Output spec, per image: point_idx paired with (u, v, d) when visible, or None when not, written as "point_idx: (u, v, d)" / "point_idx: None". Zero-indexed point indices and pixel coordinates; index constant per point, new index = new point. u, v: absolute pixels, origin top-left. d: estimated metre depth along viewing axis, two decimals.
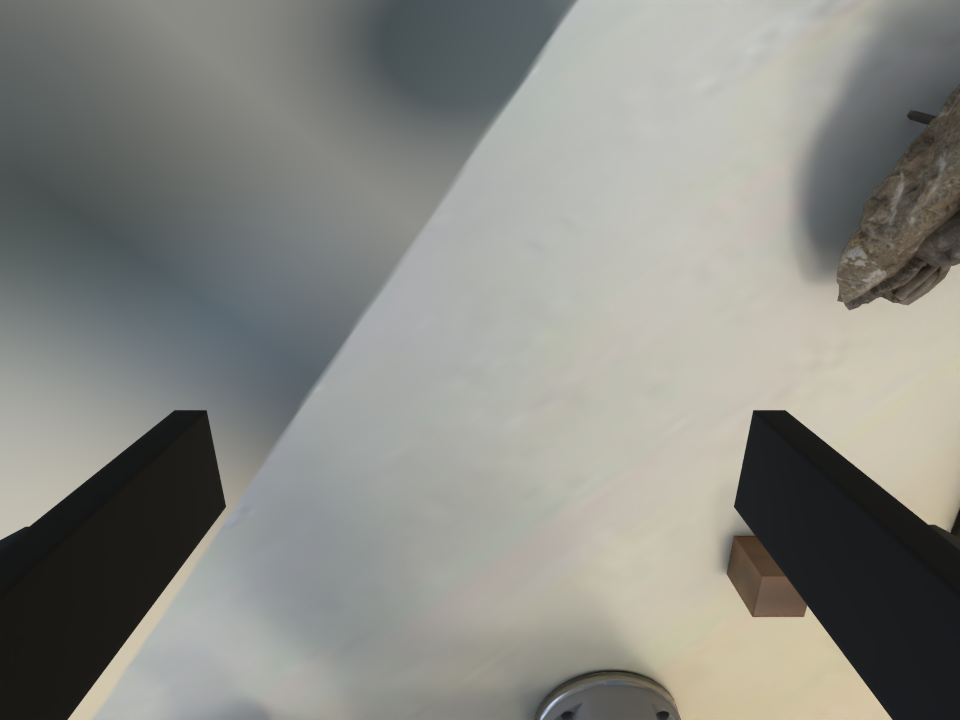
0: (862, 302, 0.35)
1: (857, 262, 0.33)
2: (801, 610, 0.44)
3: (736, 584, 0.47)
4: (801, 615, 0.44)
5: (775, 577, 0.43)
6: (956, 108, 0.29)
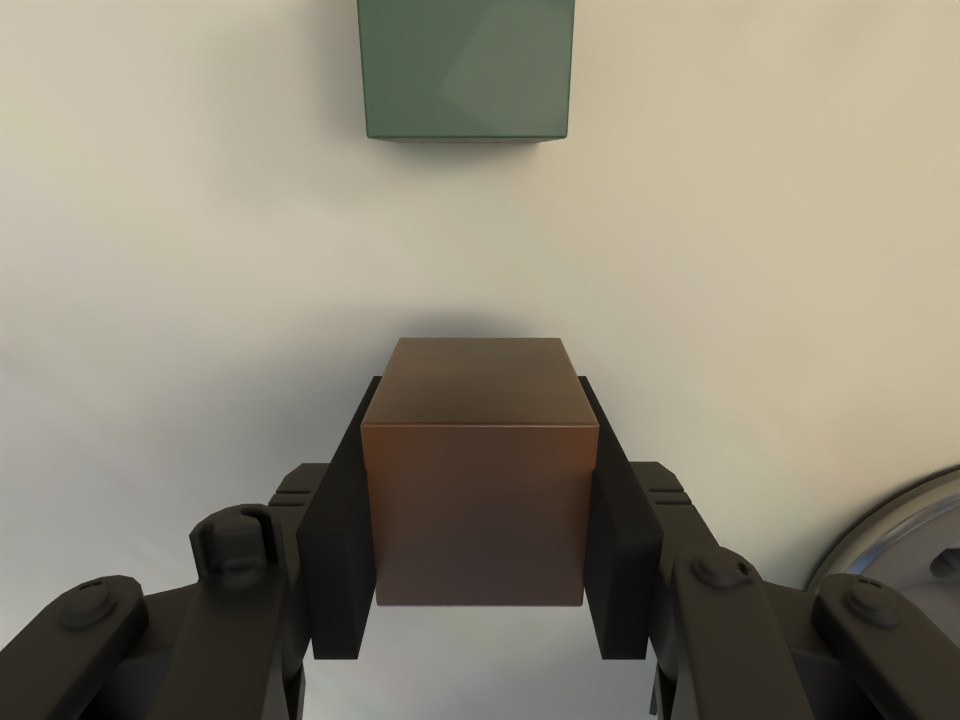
0: None
1: None
2: (558, 444, 0.10)
3: None
4: (588, 437, 0.10)
5: (381, 565, 0.11)
6: None
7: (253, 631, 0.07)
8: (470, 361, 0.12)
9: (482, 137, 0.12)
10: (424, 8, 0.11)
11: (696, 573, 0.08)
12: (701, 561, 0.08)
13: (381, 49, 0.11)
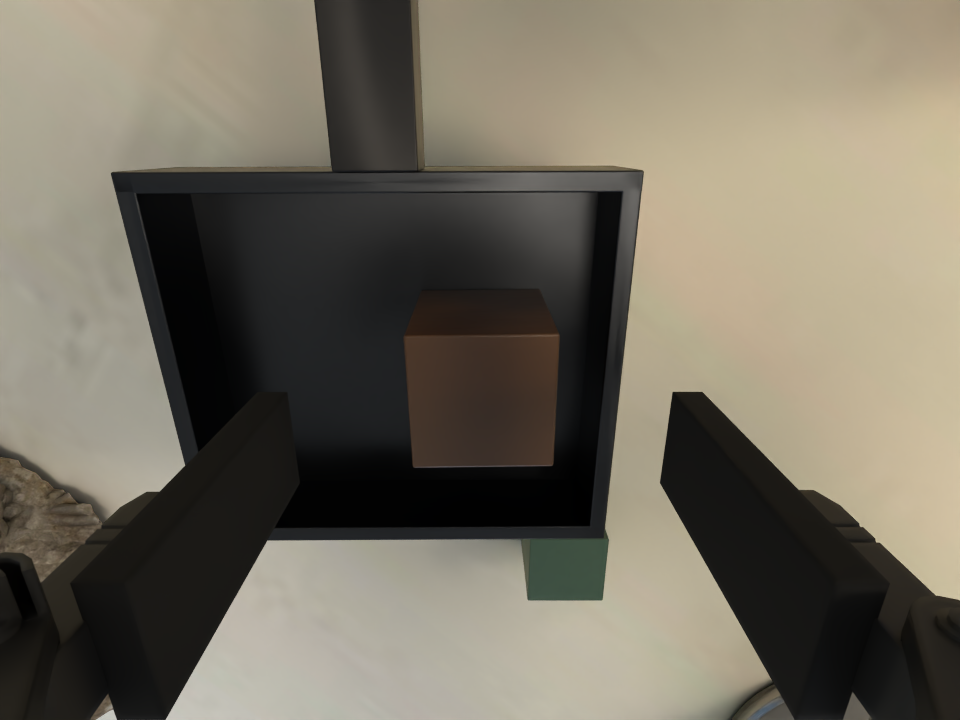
0: None
1: None
2: (533, 347, 0.15)
3: None
4: (552, 343, 0.15)
5: (415, 436, 0.16)
6: None
7: (0, 694, 0.06)
8: (474, 303, 0.18)
9: (570, 599, 0.31)
10: (552, 568, 0.30)
11: (943, 629, 0.07)
12: (950, 616, 0.07)
13: (536, 578, 0.30)
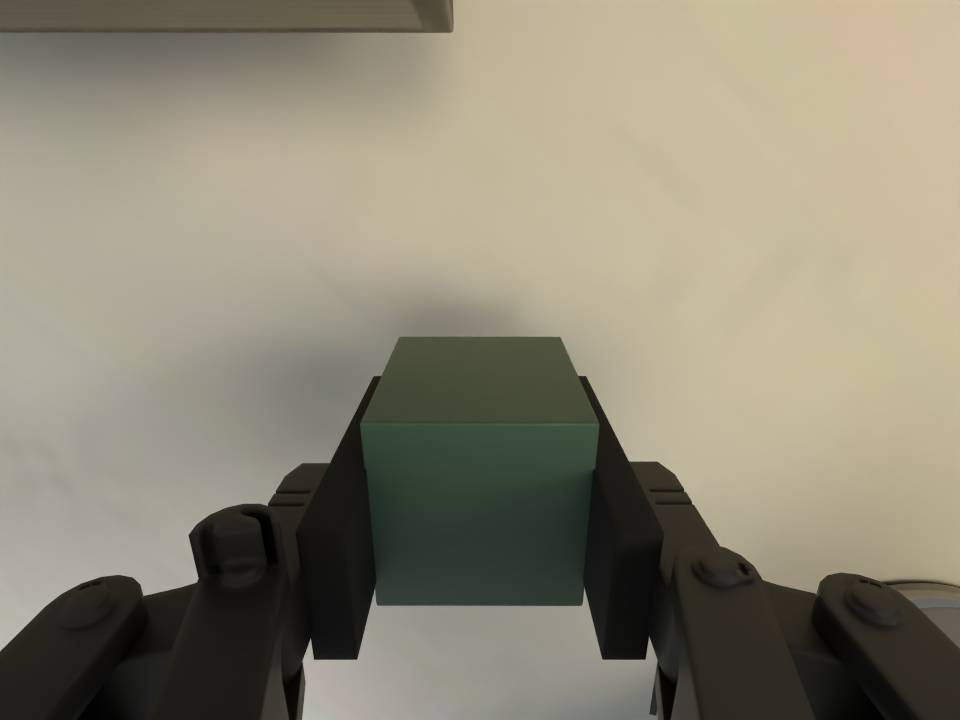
0: None
1: None
2: None
3: None
4: None
5: None
6: None
7: (253, 631, 0.07)
8: None
9: (495, 603, 0.11)
10: (436, 513, 0.10)
11: (696, 573, 0.08)
12: (701, 561, 0.08)
13: (392, 542, 0.11)
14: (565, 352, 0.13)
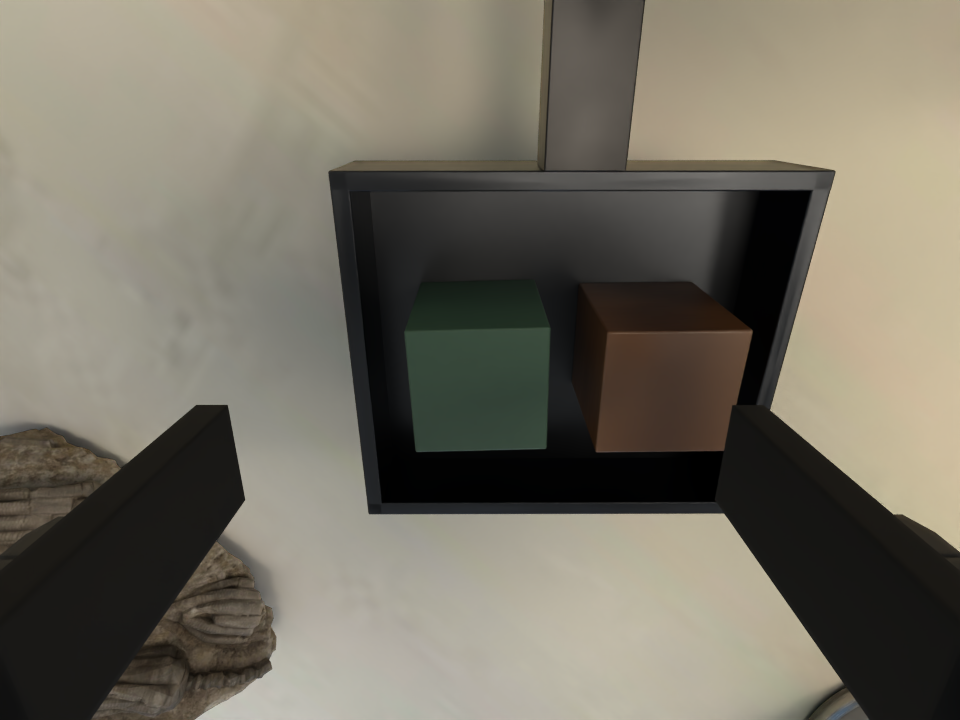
0: (255, 677, 0.33)
1: None
2: (727, 343, 0.16)
3: None
4: (745, 338, 0.16)
5: (603, 423, 0.17)
6: None
7: None
8: (643, 297, 0.19)
9: (490, 448, 0.18)
10: (452, 388, 0.17)
11: None
12: None
13: (425, 409, 0.17)
14: (536, 289, 0.19)
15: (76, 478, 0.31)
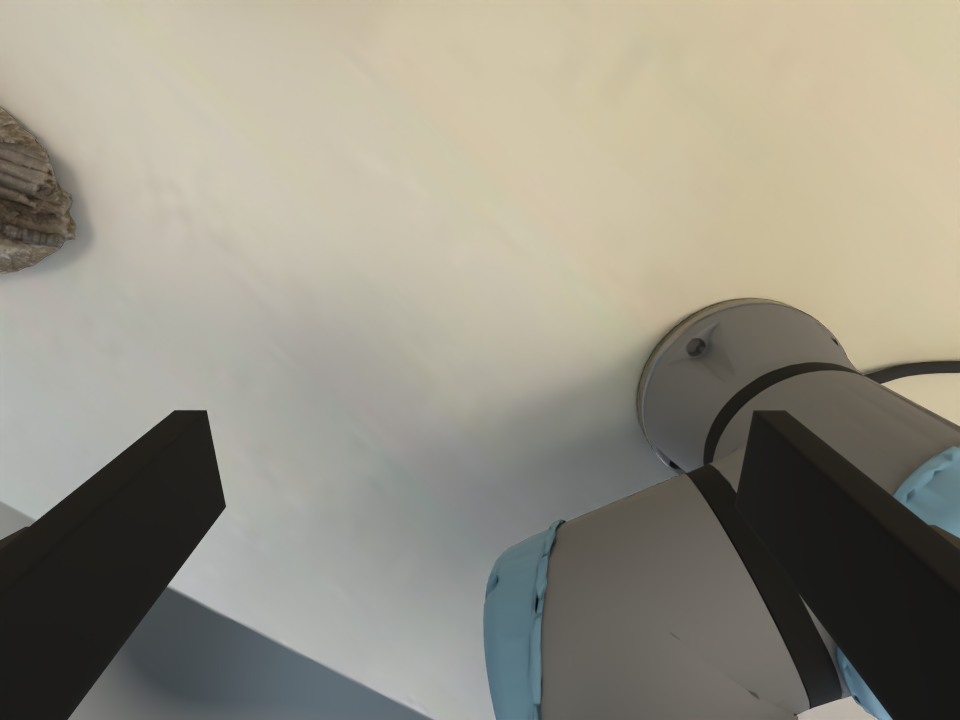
0: (41, 240, 0.32)
1: None
2: None
3: None
4: None
5: None
6: None
7: None
8: None
9: None
10: None
11: None
12: None
13: None
14: None
15: None
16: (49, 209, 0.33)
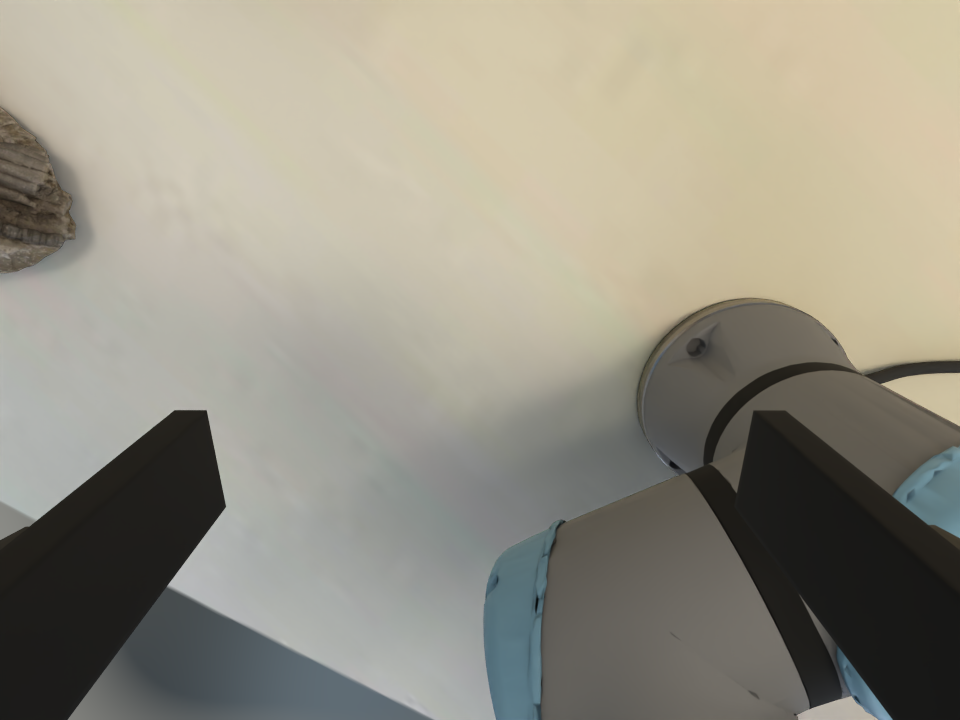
0: (41, 240, 0.32)
1: None
2: None
3: None
4: None
5: None
6: None
7: None
8: None
9: None
10: None
11: None
12: None
13: None
14: None
15: None
16: (49, 209, 0.33)
